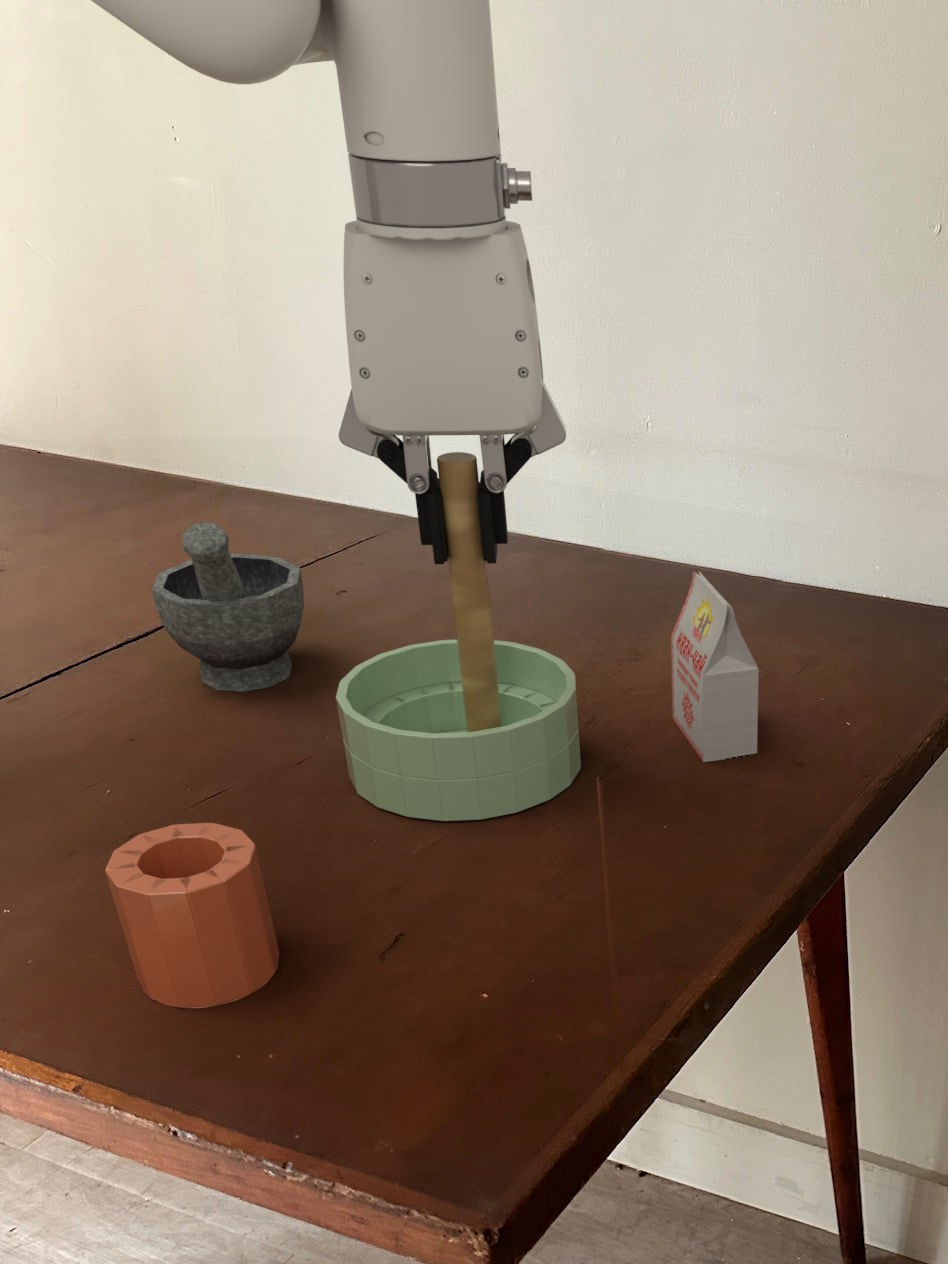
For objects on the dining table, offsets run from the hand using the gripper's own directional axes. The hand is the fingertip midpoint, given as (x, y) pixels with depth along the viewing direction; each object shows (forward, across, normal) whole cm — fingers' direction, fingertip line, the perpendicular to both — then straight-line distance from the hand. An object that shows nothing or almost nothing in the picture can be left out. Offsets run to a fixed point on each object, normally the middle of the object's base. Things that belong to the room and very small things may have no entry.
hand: (466, 553), depth 84 cm
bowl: (+13, +1, +2) cm, 14 cm away
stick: (+12, 0, 0) cm, 12 cm away
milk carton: (+14, -15, -2) cm, 20 cm away
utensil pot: (+13, +13, +23) cm, 29 cm away
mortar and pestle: (+14, +17, -14) cm, 26 cm away
